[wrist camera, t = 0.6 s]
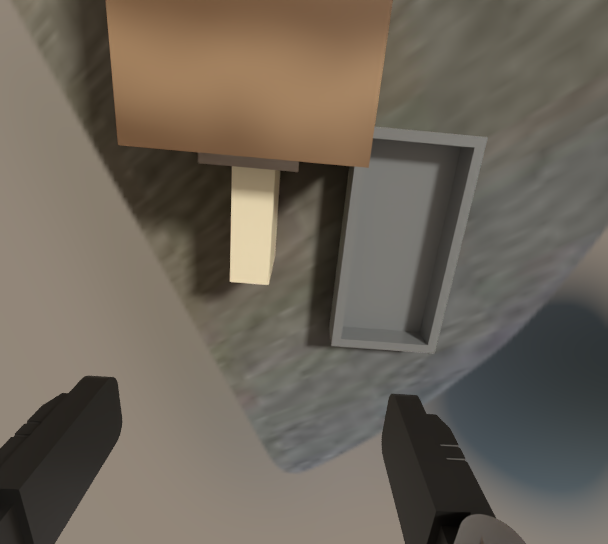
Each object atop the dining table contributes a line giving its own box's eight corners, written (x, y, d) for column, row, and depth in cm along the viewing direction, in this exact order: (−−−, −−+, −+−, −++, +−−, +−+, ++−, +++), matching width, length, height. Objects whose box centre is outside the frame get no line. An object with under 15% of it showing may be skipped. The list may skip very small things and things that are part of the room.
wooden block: (174, -109, 21) (80, -290, 12) (375, -85, 22) (427, -245, 13) (181, 152, 26) (119, 158, 17) (345, 166, 27) (366, 180, 18)
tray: (354, 126, 26) (360, 125, 23) (469, 137, 26) (487, 137, 23) (328, 329, 31) (331, 345, 29) (424, 336, 32) (434, 353, 29)
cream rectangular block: (248, 88, 25) (232, 72, 19) (286, 91, 25) (281, 77, 19) (243, 254, 29) (229, 282, 23) (275, 256, 29) (269, 285, 23)
